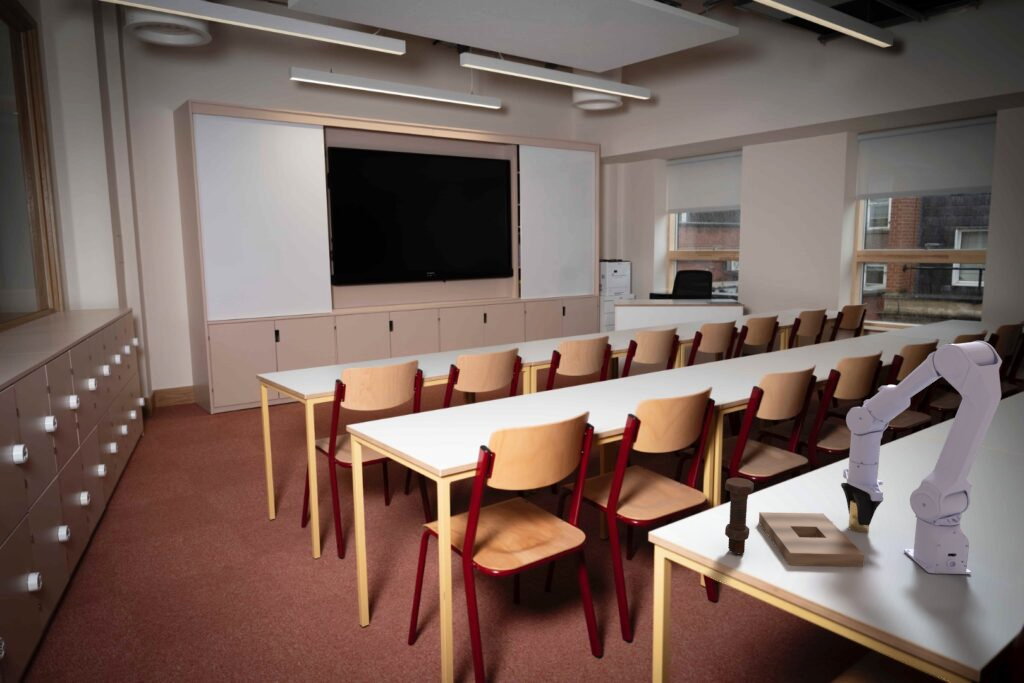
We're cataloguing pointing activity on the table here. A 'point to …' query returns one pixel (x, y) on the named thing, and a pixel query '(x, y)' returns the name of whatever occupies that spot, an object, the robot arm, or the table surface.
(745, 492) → the bolt
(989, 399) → the robot arm
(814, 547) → the slot block
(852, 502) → the pin
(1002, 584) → the table surface
